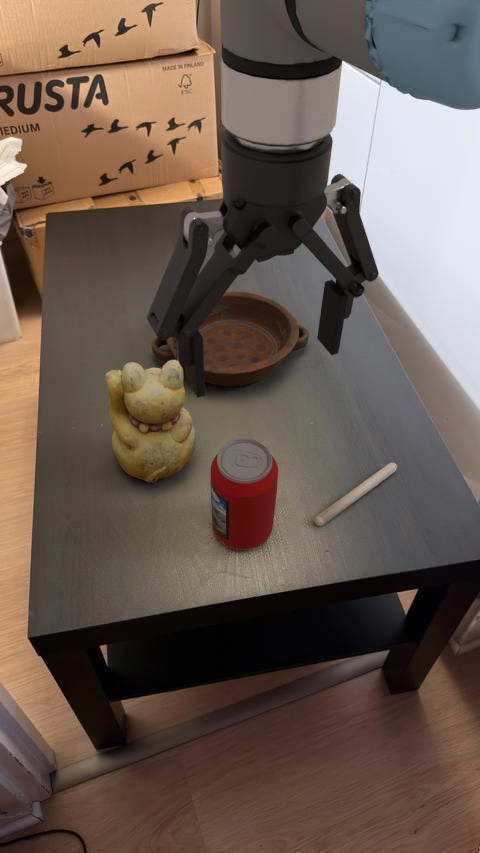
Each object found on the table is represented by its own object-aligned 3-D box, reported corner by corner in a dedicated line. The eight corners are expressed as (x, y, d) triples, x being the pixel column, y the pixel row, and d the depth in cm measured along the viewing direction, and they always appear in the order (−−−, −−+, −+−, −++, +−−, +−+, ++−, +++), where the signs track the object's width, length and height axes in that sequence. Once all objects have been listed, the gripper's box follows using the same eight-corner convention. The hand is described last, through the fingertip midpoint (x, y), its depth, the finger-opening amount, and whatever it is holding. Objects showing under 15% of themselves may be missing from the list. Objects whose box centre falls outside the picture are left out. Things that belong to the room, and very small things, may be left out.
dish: (322, 390, 84) (327, 362, 80) (158, 408, 81) (155, 380, 77) (293, 310, 95) (296, 283, 92) (149, 324, 92) (145, 296, 89)
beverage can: (217, 498, 72) (215, 429, 63) (275, 506, 71) (282, 436, 62) (207, 549, 67) (204, 482, 58) (269, 557, 66) (276, 491, 58)
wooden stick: (398, 471, 75) (400, 464, 74) (319, 530, 69) (320, 524, 68) (390, 465, 75) (392, 458, 74) (311, 522, 70) (312, 516, 69)
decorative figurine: (191, 433, 78) (185, 341, 67) (203, 484, 73) (199, 394, 62) (114, 445, 77) (95, 352, 66) (120, 498, 71) (100, 408, 60)
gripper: (399, 83, 47) (356, 308, 63) (78, 138, 40) (120, 378, 56) (462, 120, 43) (399, 353, 59) (114, 190, 36) (148, 435, 51)
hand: (263, 365), depth 57 cm, fingers open, 13 cm apart
